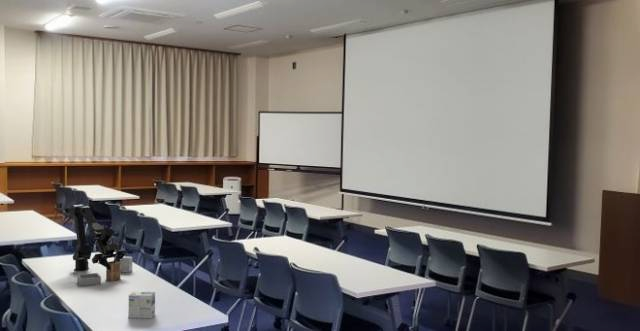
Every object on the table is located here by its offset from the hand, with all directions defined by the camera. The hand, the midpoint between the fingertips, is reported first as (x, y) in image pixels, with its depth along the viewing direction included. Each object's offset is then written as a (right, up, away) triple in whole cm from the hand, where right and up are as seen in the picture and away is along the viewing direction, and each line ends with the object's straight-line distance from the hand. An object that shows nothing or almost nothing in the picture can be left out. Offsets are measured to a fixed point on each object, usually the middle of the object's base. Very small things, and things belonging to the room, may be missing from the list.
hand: (114, 268), depth 321 cm
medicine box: (-2, -6, +21) cm, 22 cm away
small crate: (-1, -7, +1) cm, 7 cm away
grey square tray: (-11, -7, -8) cm, 15 cm away
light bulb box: (+34, -11, -61) cm, 70 cm away
